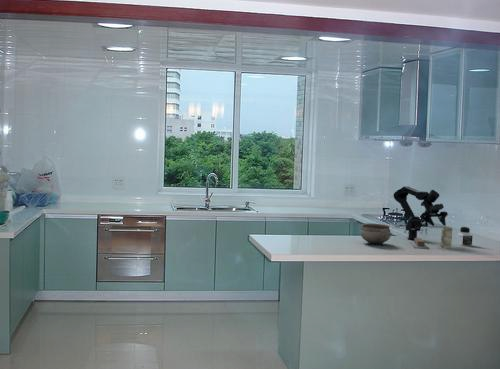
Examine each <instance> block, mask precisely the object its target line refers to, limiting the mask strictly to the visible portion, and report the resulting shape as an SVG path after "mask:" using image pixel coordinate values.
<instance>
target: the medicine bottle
mask: <svg viewBox="0 0 500 369" xmlns="http://www.w3.org/2000/svg"><path fill="white" fill-rule="evenodd" d="M470 233H471V228H470V227H467V226H461V227H460V230H459V233H456V235H457V236H456V245H459V246H463V247H471V246H472V247H473V237H474V236H473V234H470Z"/></svg>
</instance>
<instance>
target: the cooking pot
mask: <svg viewBox="0 0 500 369" xmlns="http://www.w3.org/2000/svg"><path fill="white" fill-rule="evenodd" d="M362 225H363V226H362V227H360V228H359V230H360V236H361V238H362V239H363V240H364V241H365V242H367V243H368V244H369V245H373V244H374V246H379V245H381V244H384V243H386V242H387V241H389V240H390V238H391V236H392V235H393V232H391V229H390V227H391V225H388V224H384V223H374V222H373V223H369V222H368V223H362Z"/></svg>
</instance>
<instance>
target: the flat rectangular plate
mask: <svg viewBox="0 0 500 369" xmlns="http://www.w3.org/2000/svg"><path fill="white" fill-rule="evenodd" d="M409 244H410V245H411V247H413V249H421V248H422V249H424V250H425V249H427V250H428V249H430V247H429V246H428V245H427V244H426V243H425V241H424V240H423V238H421V237H420V238H419V237H417V238H414V240H413V241H409ZM422 249H421V250H422Z"/></svg>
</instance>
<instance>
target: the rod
mask: <svg viewBox="0 0 500 369" xmlns="http://www.w3.org/2000/svg"><path fill="white" fill-rule="evenodd" d="M440 240H441V241H440V248H444V249H452V241H453V227H449V226H441V237H440Z"/></svg>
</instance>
